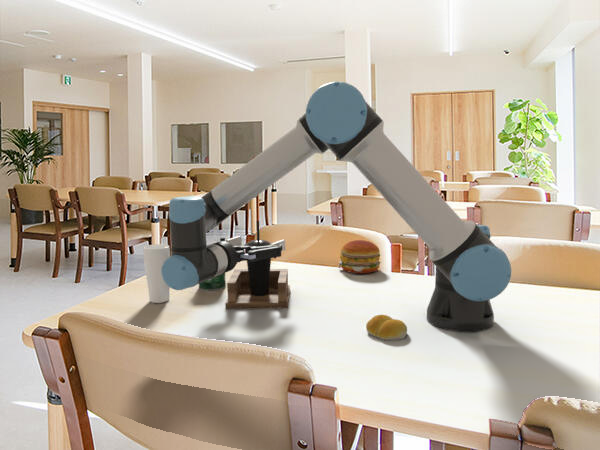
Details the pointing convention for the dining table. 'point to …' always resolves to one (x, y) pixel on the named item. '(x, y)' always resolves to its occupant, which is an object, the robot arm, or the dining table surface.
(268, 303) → the walnut rest
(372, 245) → the burger
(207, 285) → the canned tomato
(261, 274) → the drinking cup
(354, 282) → the dining table surface
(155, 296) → the drinking glass
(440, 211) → the robot arm
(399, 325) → the bread roll
